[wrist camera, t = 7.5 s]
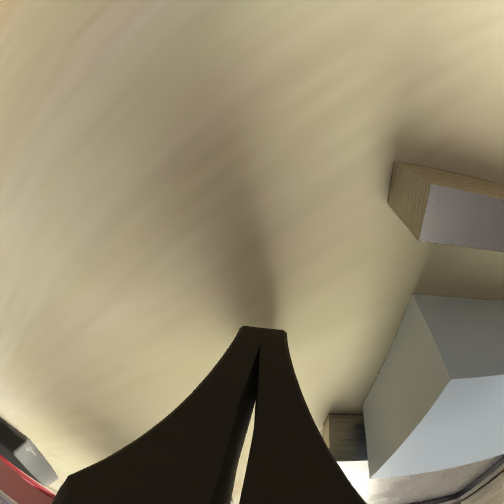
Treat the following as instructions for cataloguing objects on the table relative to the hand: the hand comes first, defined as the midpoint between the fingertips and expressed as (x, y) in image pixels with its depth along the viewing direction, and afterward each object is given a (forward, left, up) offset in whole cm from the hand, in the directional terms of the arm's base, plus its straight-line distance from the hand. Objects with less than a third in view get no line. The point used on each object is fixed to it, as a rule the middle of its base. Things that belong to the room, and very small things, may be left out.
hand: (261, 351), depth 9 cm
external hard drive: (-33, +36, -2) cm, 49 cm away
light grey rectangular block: (-1, -10, -1) cm, 10 cm away
